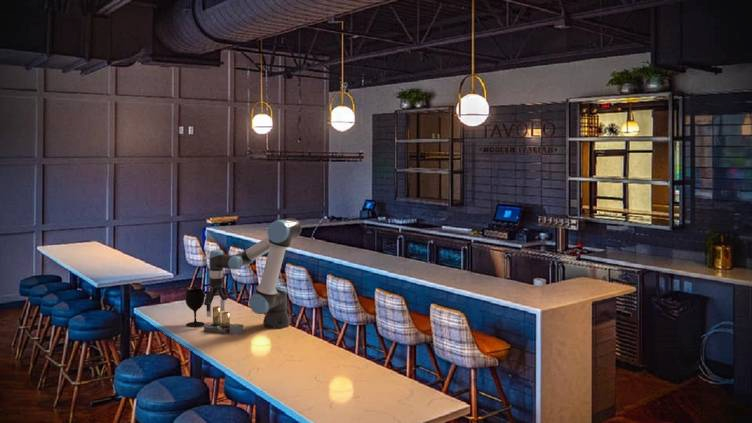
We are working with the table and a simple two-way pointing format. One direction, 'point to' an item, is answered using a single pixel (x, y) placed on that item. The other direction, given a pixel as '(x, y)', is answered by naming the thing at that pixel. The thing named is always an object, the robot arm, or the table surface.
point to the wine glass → (194, 304)
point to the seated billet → (225, 320)
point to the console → (236, 329)
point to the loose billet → (217, 314)
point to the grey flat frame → (217, 328)
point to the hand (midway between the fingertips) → (216, 313)
